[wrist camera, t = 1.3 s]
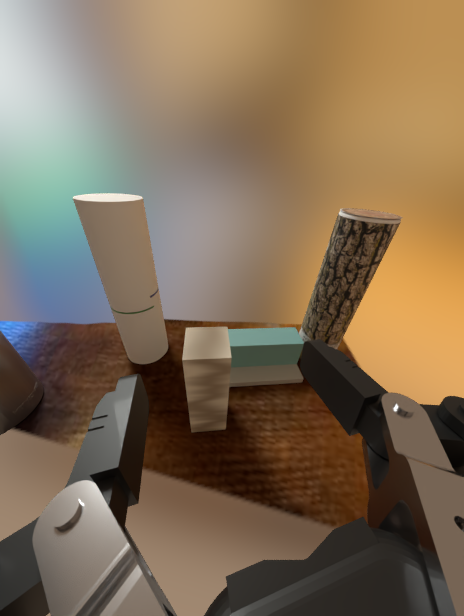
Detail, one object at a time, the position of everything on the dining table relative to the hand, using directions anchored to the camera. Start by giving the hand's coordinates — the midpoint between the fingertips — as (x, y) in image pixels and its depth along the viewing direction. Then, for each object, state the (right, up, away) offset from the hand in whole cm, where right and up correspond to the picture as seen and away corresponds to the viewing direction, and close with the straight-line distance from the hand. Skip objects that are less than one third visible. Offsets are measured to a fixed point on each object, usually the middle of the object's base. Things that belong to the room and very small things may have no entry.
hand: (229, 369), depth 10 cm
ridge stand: (+4, -7, +27) cm, 28 cm away
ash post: (-3, -12, +19) cm, 22 cm away
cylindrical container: (-16, -5, +28) cm, 32 cm away
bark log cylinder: (+16, -6, +29) cm, 34 cm away
